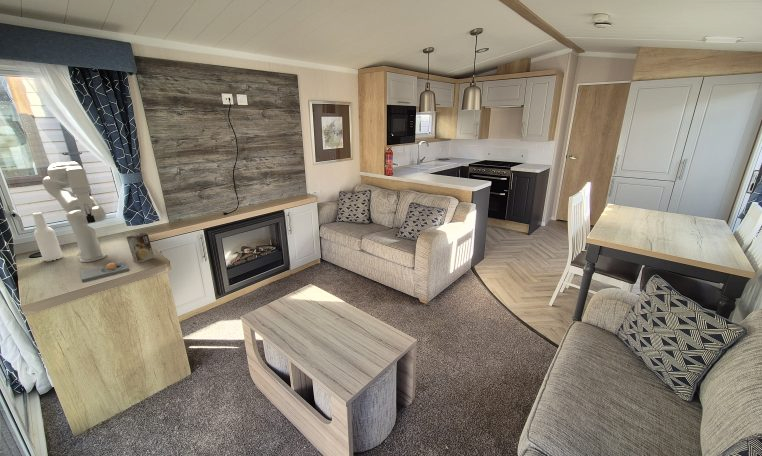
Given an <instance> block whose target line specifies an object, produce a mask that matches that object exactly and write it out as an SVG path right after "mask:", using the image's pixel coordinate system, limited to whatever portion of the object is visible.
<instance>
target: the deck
mask: <svg viewBox="0 0 762 456" xmlns="http://www.w3.org/2000/svg"><path fill="white" fill-rule="evenodd" d="M114 264H116V266H117V267H116V269H114V270H107V268H106V266H107V264H106V265H103V266H99V267H94V268H89V269H86V270H81V271H80V276H81V282H82V283H85V282H89V281H93V280H96V279H100V278H101V279H102V278H105V277H109V276H114V275H117V274H121V273H124V272H129V271H130V269H129V266H128V263H127V261H126V260H123V261H120V262H115V263H114Z"/></svg>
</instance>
